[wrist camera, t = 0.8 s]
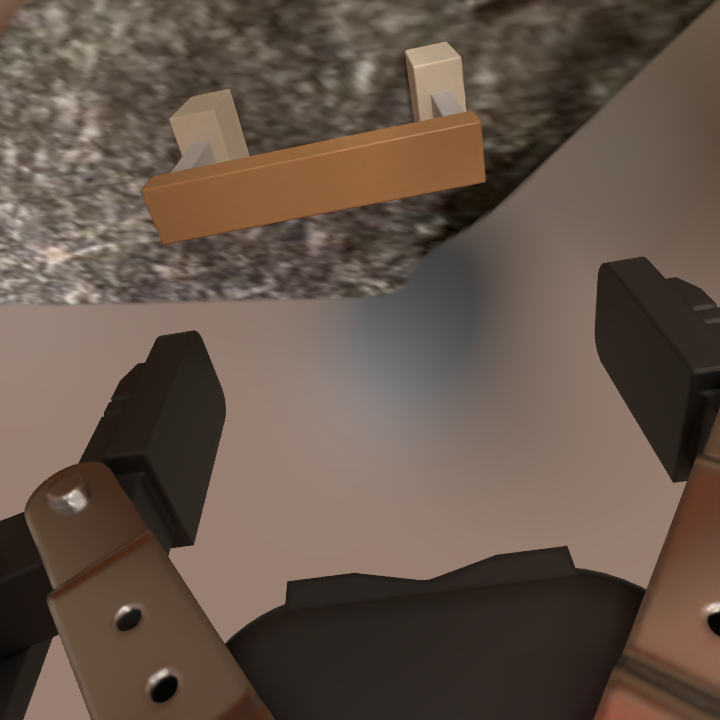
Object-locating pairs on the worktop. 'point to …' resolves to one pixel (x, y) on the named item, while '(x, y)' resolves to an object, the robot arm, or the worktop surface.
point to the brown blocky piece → (316, 160)
